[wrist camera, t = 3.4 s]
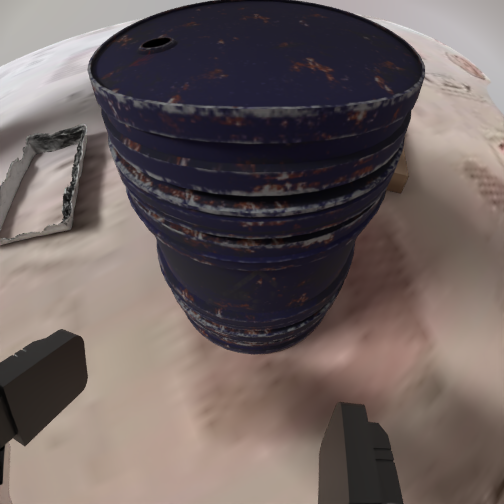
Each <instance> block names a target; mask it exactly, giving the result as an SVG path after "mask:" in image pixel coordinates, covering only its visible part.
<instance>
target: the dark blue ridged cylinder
mask: <svg viewBox="0 0 504 504" xmlns="http://www.w3.org/2000/svg"><path fill="white" fill-rule="evenodd" d="M88 74H89V77H90V81H91V84H92V87H93V90H94V93H95V96H96V99H97V102H98V104H99V105H100V106H101V108H102V112H101V114H102V117H103V120H104V123H105V126H106V129H107V132H108V144H109V148H110V151H111V154H112V157H113V159H114V162H115V164H116V167H117V169H118V172H119V174H120V177H121V179H122V182H123V183H124V185H125V186H126V192H127V195H128V198H129V200H130V203H131V206H132V207H133V209H134V210H135V212H136V213H137V215H138V216H139V217H140V219H141V220H142V221H143V222H144V224H145V225H146V227H147V228H148V229H149V231H151V232H152V233H153V234H154V235H155V237H156V239H157V252H158V259H159V263H160V267H161V271H162V273H163V275H164V278H165V280H166V282H167V284H168V285H169V286H170V288H171V290H172V292H173V294H174V296H175V298H176V300H177V302H178V303H179V305H180V306H181V308H182V309H183V310H184V312H185V313H186V315H187V317H188V319H189V320H190V322H191V323H192V324H193V326H194V327H195V328H196V329H197V330H198V331H199V332H200V333H201V334H202V335H203V336H204V337H205V338H207V339H208V340H210V341H211V342H213V343H214V344H216V345H218V346H220V347H223V348H225V349H227V350H231V351H234V352H238V353H245V354H268V353H272V352H277V351H281V350H284V349H286V348H289V347H291V346H293V345H295V344H297V343H298V342H300V341H302V340H303V339H305V338H306V337H307V336H308V335H309V334H311V333H312V332H313V331H314V329H315V328H316V327H317V326H318V325H319V324H320V322H321V321H322V319H323V317H324V316H325V314H326V312H327V311H328V310H329V308H330V307H331V306H332V304H333V302H334V301H335V299H336V297H337V295H338V293H339V291H340V290H341V288H342V285H343V282H344V280H345V278H346V276H347V274H348V271H349V268H350V265H351V263H352V258H353V255H354V247H355V240H356V238H357V236H358V235H359V234H360V233H361V231H362V230H363V229H364V228H365V227H366V226H367V224H368V223H369V222H370V220H371V219H372V218H373V216H374V215H375V214H376V213H377V211H378V209H379V207H380V205H381V203H382V201H383V199H384V196H385V192H386V188H387V187H388V185H389V182H390V180H391V178H392V176H393V174H394V172H395V169H396V167H397V164H398V162H399V159H400V156H401V154H402V152H403V146H404V139H405V137H404V136H405V133H406V131H407V128H408V125H409V122H410V119H411V110H412V109H413V107H414V105H415V103H416V101H417V99H418V96H419V93H420V90H421V86H422V83H423V80H424V77H425V65H424V63H423V61H422V59H421V57H420V55H419V54H418V53H417V52H416V51H415V49H414V48H413V47H412V46H411V45H409V44H408V43H407V42H406V41H405V40H404V39H402V38H401V37H399V36H398V35H397V34H395V33H394V32H392V31H390V30H388V29H387V28H385V27H383V26H381V25H379V24H377V23H375V22H373V21H371V20H368V19H366V18H364V17H361V16H358V15H355V14H353V13H350V12H347V11H343V10H340V9H336V8H333V7H329V6H324V5H319V4H315V3H309V2H302V1H296V0H215V1H208V2H202V3H196V4H191V5H187V6H182V7H178V8H174V9H171V10H167V11H164V12H161V13H158V14H156V15H153V16H150V17H147V18H145V19H142V20H140V21H138V22H136V23H134V24H132V25H130V26H128V27H126V28H124V29H123V30H121V31H119V32H118V33H116V34H114V35H113V36H112V37H110V38H109V39H108V40H107V41H105V42H104V43H103V44H102V45H101V46H100V47H99V48H98V49H97V50H96V51H95V52H94V54H93V56H92V57H91V59H90V61H89V65H88Z"/></svg>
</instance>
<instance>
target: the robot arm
mask: <svg viewBox="0 0 504 504" xmlns="http://www.w3.org/2000/svg"><path fill="white" fill-rule="evenodd" d="M87 378H88V374H87V366H86V358H85V348H84V341H83V339H82V337H81V336H78V335H76V334H73V333H71V332H68V331H66V330H63V329H60V330H58V331H56V332H55V333H53V334H52V335H50V336H49V337H47V338H44V339H41V340H38V341H34V342H32V343H31V344H29V345H27V346H26V347H24V348H23V350H19V351H18V352H16V353H15V354H14V356H13V355H12V356H10V357H8V358H7V359H5V360H4V361H2V362H1V363H0V504H12V501H11V498H10V494H9V469H10V444H9V441H10V440H11V439H12V438H14V439H15V440H16V441H18V442H19V443H21V444H22V445H24V446H26V445H27V444H28V443H29V442H30V441H31V440H32V439H33V438H34V437H35V436H36V435H37V434H38V433H39V432H40V431H42V430H43V429H44V428H45V427H46V426H47V425H48V424H49V423H50V422H51V421H52V420H53V419H54V418H55V417H56V416H57V415H58V414H59V413H60V412H61V411H62V410H63V409H64V408H66V407H67V406H68V405H69V404H70V403H71V402H72V401H73V400H74V399H75V398H76V397H77V396H78V395H79V394H80V393H81V392H82V391H83V390H84V388H85V386H86V383H87ZM393 460H394V458H393V454H392V451H391V446H390V442H389V438H388V435H387V434H386V432H385V431H384V430H383V428H382V427H381V426H380V425H379V423H372V422H368V418H367V413H366V409H365V406H364V405H362V404H353V403H344V402H338V403H337V405H336V407H335V409H334V412H333V415H332V417H331V420H330V422H329V425H328V427H327V430H326V432H325V435H324V437H323V440H322V444H321V448H320V454H319V491H318V504H403V499H402V495H401V490H400V485H399V480H398V476H397V471H396V467H395V463H394V462H393Z"/></svg>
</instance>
